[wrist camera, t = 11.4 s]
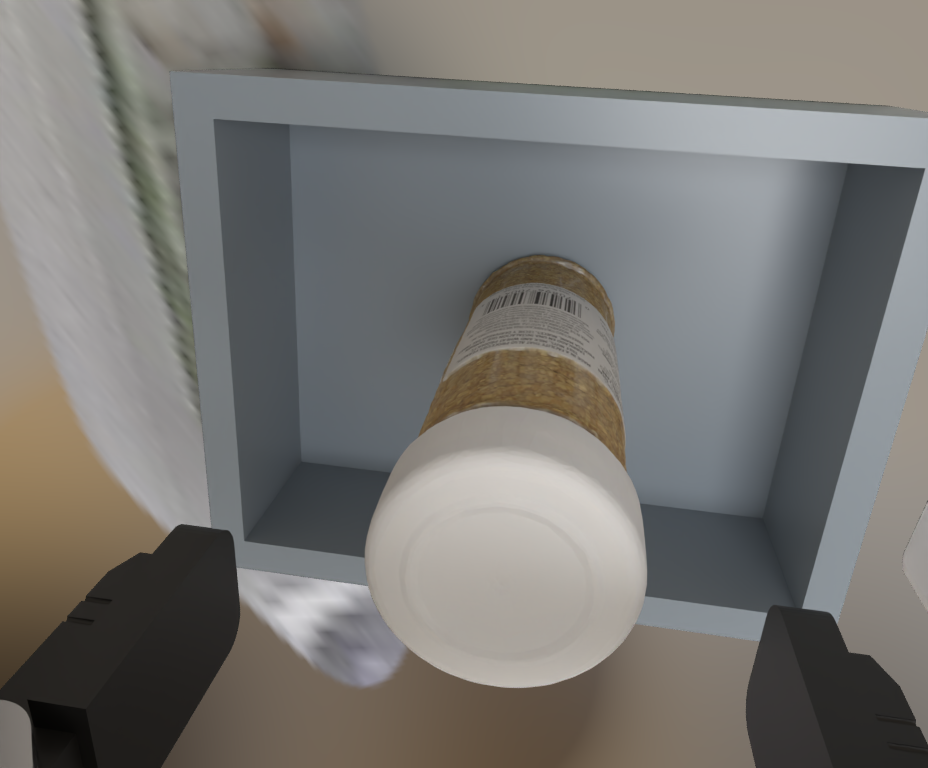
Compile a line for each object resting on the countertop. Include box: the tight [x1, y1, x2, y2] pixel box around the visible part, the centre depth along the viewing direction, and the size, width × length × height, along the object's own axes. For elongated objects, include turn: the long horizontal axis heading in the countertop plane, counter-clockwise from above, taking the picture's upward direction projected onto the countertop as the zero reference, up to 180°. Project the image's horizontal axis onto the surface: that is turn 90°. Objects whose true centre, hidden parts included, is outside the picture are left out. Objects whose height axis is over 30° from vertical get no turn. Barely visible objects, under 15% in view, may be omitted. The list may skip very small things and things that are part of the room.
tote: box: [170, 68, 928, 641], centre depth 23 cm, size 14×18×6 cm
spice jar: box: [365, 255, 647, 688], centre depth 18 cm, size 5×5×14 cm
